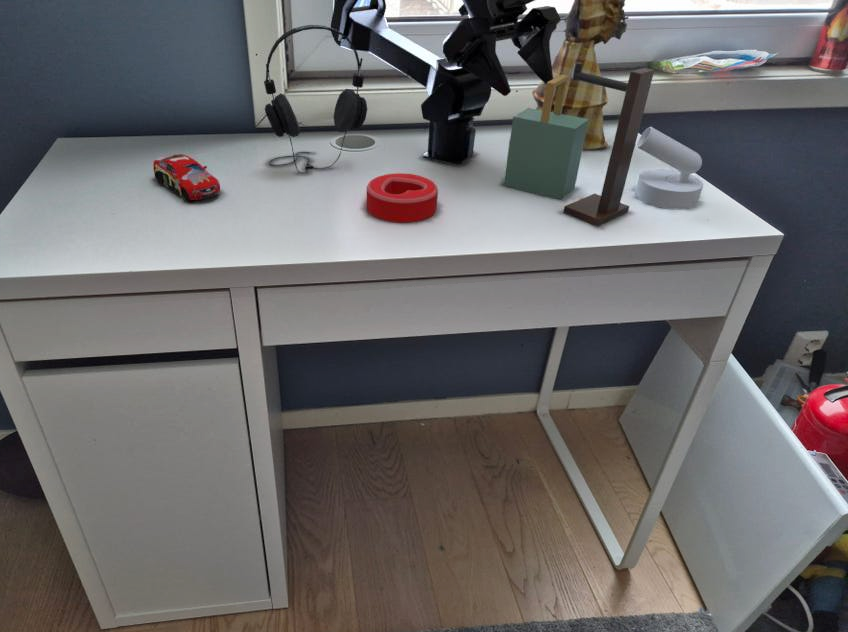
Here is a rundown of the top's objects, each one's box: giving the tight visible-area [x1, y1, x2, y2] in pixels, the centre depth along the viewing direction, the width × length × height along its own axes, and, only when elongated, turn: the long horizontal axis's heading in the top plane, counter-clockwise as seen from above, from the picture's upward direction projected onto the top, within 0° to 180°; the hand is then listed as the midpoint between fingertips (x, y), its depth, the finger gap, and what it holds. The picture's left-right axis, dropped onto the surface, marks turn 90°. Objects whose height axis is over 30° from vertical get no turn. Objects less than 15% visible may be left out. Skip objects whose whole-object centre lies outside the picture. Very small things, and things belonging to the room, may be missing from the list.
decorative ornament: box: [365, 172, 439, 224], centre depth 89 cm, size 10×10×3 cm
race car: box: [152, 153, 221, 202], centre depth 93 cm, size 13×5×4 cm, turn 39°
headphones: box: [263, 24, 368, 174], centre depth 97 cm, size 15×11×20 cm
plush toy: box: [532, 0, 629, 151], centre depth 106 cm, size 14×14×25 cm
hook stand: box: [562, 62, 655, 228], centre depth 85 cm, size 10×7×19 cm
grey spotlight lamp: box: [634, 126, 704, 210], centre depth 91 cm, size 9×10×10 cm
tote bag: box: [503, 75, 589, 201], centre depth 92 cm, size 9×5×15 cm, turn 55°
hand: (529, 88), depth 90 cm, fingers open, 9 cm apart
